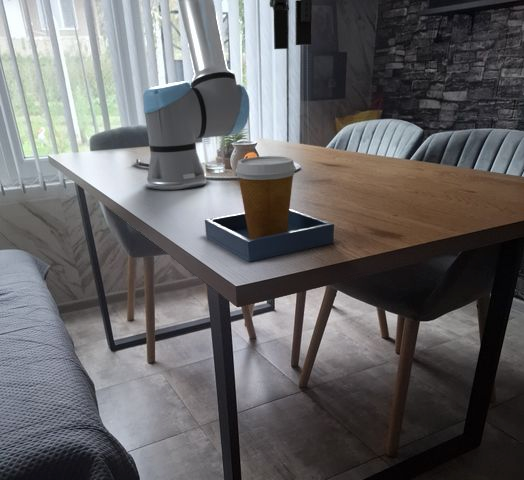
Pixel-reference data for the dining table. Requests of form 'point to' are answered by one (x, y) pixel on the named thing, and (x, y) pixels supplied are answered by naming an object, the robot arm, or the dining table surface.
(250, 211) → the disposable coffee cup
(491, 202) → the dining table surface
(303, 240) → the tray
